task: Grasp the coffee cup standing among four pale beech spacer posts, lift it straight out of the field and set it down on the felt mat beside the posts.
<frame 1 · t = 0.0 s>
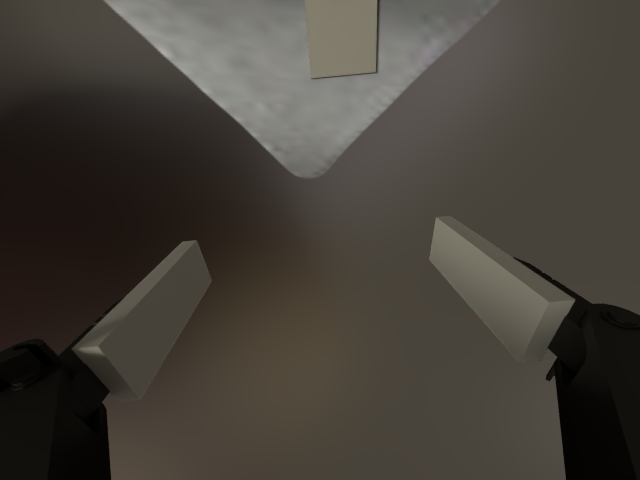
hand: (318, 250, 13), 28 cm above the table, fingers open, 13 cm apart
felt mat: (341, 34, 30), on the table
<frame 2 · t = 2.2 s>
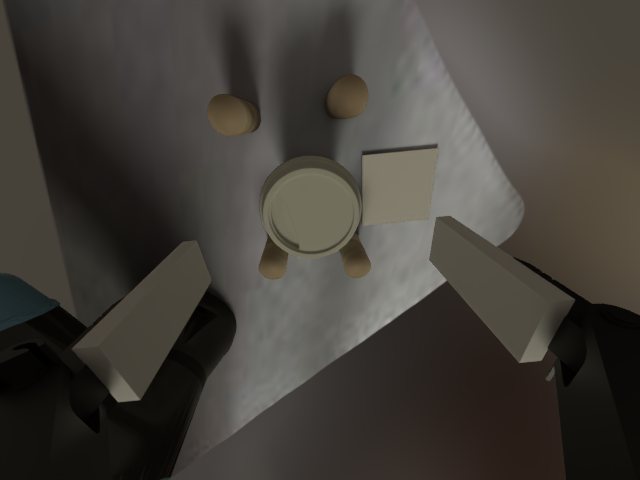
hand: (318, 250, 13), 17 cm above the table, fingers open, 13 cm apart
coffee cup: (309, 181, 29), on the table
spacer posts: (309, 181, 28), on the table
felt mat: (396, 188, 29), on the table
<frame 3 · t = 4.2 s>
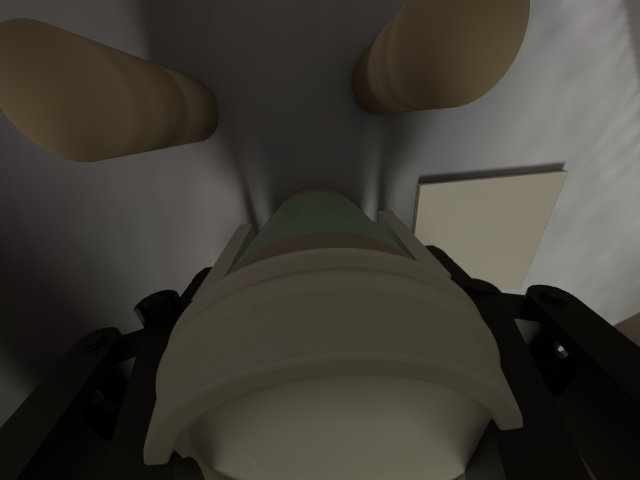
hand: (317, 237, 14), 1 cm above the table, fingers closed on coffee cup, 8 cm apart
coffee cup: (316, 228, 16), on the table, touching gripper
spacer posts: (316, 230, 15), on the table
felt mat: (473, 240, 16), on the table
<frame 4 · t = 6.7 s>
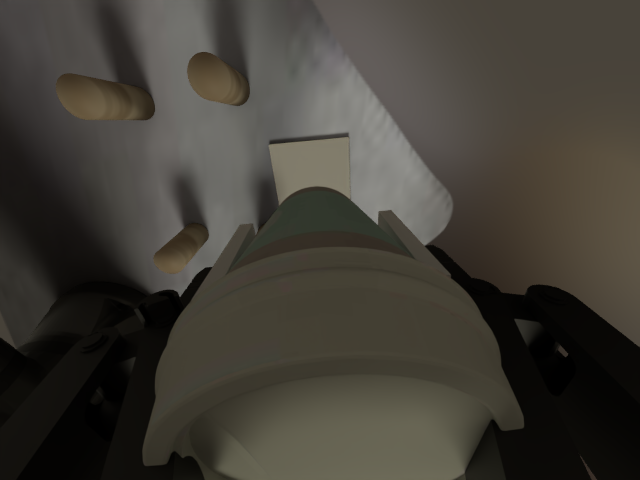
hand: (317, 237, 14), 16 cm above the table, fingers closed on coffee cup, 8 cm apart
coffee cup: (316, 228, 16), point 14 cm above the table, touching gripper
spacer posts: (218, 172, 27), on the table
felt mat: (312, 180, 28), on the table
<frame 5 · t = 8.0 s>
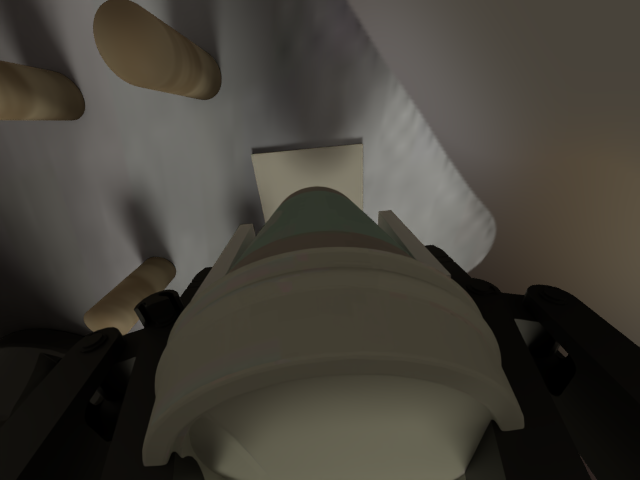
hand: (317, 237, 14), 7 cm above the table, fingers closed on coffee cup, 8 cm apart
coffee cup: (316, 228, 16), point 6 cm above the table, touching gripper
spacer posts: (183, 191, 20), on the table
felt mat: (312, 201, 21), on the table
when the fingers open (3 cm above the table, at t = 9.2 s): coffee cup moves 2 cm, point 1 cm above the table.
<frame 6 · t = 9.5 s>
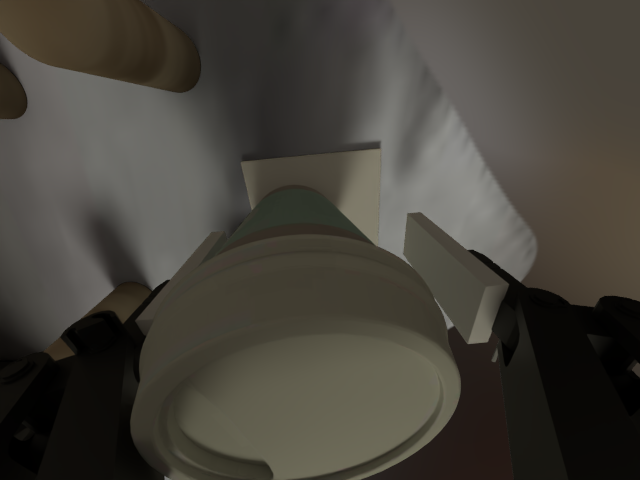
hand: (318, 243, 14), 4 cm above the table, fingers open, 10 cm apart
coffee cup: (295, 225, 16), point 1 cm above the table
spacer posts: (158, 207, 16), on the table
felt mat: (317, 218, 17), on the table
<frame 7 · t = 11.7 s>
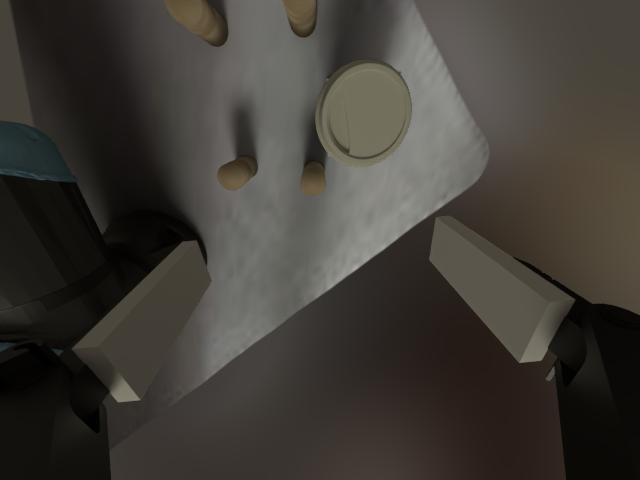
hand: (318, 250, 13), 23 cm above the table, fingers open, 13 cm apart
coffee cup: (349, 118, 30), resting on felt mat
spacer posts: (275, 104, 29), on the table
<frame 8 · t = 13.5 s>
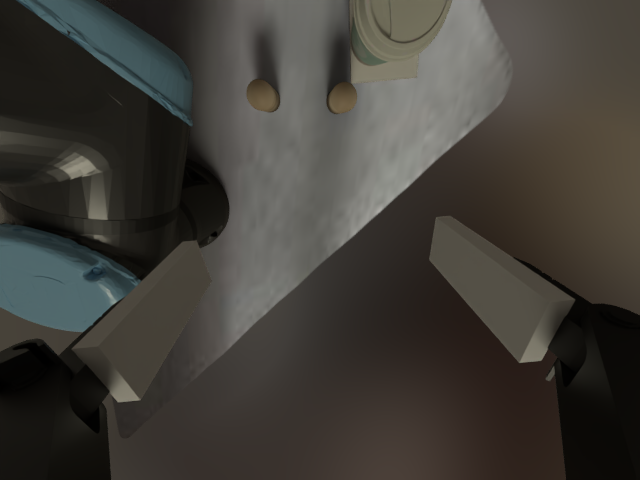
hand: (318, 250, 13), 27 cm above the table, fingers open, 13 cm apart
coffee cup: (372, 38, 30), resting on felt mat
spacer posts: (297, 26, 29), on the table
felt mat: (384, 38, 30), on the table
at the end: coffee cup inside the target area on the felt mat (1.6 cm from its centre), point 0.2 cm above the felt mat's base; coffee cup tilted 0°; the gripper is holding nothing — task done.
